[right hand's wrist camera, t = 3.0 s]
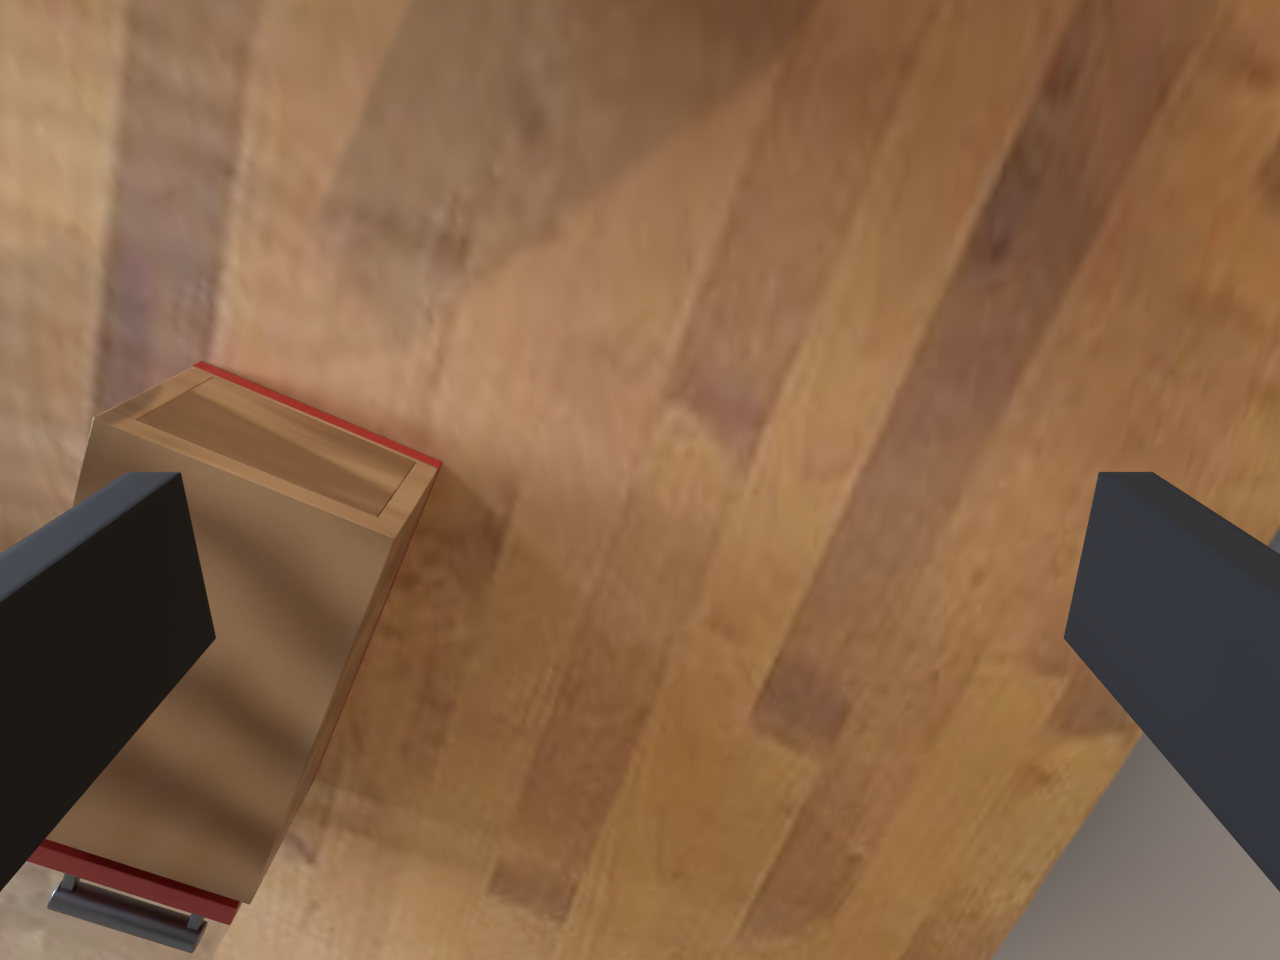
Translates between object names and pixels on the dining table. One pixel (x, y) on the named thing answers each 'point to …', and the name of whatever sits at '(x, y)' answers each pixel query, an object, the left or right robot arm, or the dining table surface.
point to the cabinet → (248, 618)
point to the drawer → (127, 910)
